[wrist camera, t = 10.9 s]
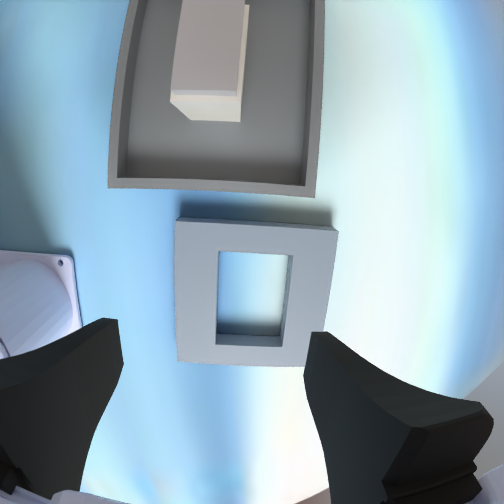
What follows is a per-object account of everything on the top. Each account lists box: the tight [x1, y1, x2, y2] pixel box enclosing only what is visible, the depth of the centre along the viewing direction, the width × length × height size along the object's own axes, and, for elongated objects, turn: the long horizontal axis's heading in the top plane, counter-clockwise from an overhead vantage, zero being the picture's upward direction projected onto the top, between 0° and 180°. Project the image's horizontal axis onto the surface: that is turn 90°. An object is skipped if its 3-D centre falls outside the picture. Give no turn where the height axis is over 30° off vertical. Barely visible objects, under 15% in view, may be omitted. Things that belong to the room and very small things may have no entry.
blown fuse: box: [170, 0, 249, 122], centre depth 14 cm, size 3×5×7 cm, turn 176°
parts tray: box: [108, 0, 325, 198], centre depth 17 cm, size 12×14×2 cm
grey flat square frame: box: [174, 217, 339, 367], centre depth 21 cm, size 10×10×2 cm
